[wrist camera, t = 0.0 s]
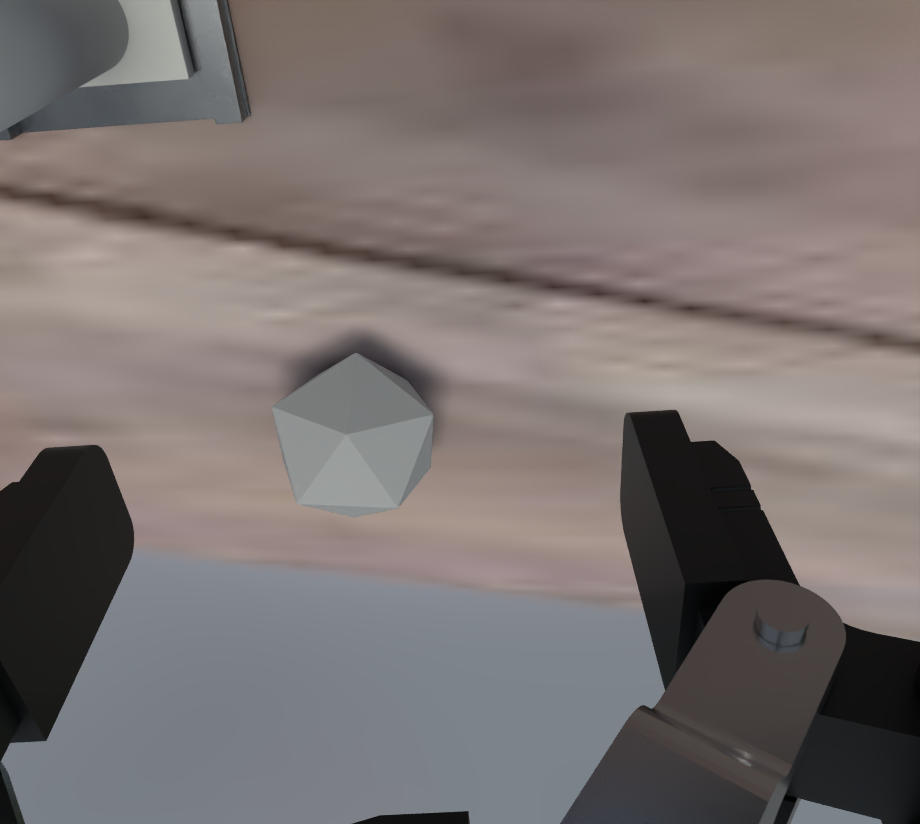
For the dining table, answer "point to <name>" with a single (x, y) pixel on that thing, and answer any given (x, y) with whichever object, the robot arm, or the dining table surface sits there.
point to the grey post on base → (85, 49)
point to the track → (161, 85)
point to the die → (354, 438)
